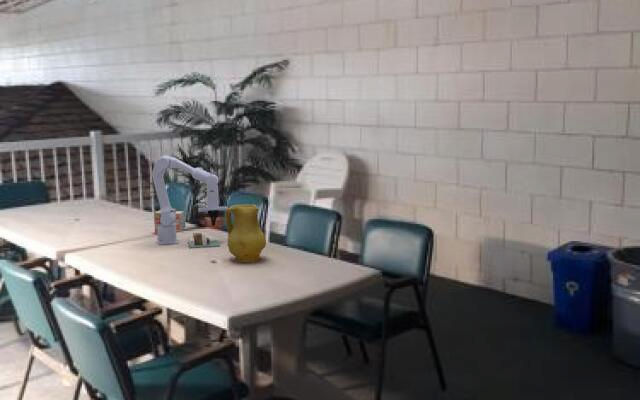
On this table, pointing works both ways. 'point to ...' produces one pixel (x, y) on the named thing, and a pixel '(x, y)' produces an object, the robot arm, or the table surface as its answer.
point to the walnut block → (197, 238)
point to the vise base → (212, 244)
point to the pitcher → (244, 233)
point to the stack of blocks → (179, 221)
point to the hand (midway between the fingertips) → (213, 225)
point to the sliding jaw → (205, 240)
